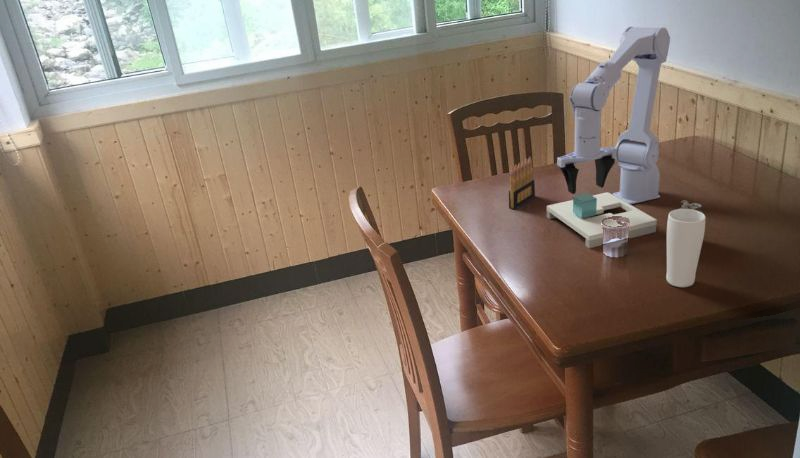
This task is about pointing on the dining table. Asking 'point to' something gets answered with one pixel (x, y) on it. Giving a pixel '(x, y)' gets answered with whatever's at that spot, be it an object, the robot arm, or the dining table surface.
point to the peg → (584, 205)
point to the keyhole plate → (592, 226)
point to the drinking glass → (683, 245)
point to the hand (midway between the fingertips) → (586, 189)
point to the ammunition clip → (521, 184)
